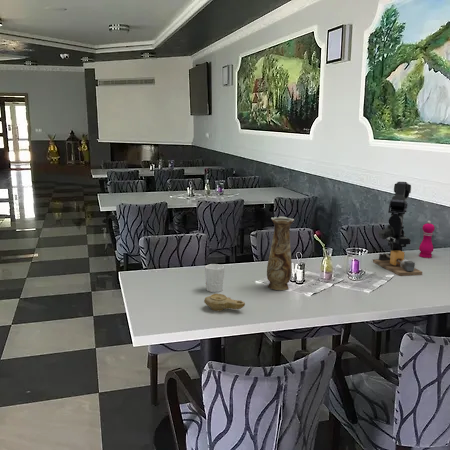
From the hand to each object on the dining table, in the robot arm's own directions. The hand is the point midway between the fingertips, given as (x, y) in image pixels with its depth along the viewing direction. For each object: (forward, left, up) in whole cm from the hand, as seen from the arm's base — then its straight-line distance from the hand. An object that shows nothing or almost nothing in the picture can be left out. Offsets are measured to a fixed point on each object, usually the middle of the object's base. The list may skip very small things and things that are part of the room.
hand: (393, 254), depth 242 cm
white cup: (+21, -96, -6) cm, 98 cm away
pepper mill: (-14, +29, -6) cm, 33 cm away
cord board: (+4, 0, -6) cm, 7 cm away
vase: (+22, -68, -6) cm, 72 cm away
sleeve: (+3, 0, -4) cm, 5 cm away
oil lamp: (+43, -97, -6) cm, 106 cm away
